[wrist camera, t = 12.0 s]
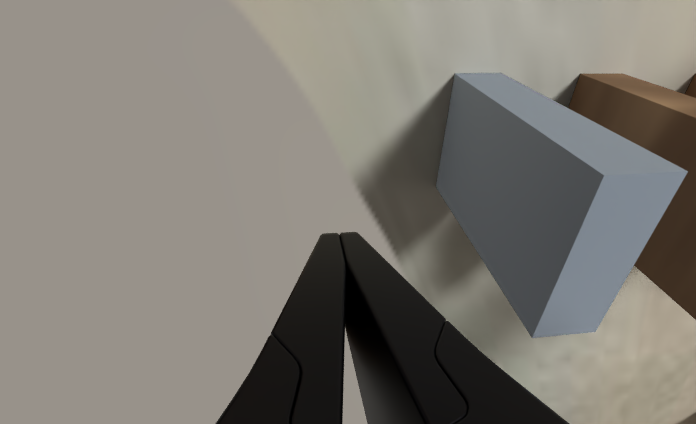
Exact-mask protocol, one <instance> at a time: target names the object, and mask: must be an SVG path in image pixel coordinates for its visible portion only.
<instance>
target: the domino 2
mask: <svg viewBox="0 0 696 424" xmlns="http://www.w3.org/2000/svg"><path fill="white" fill-rule="evenodd" d="M568 108H569V109H571V110H572V111H574V112H576V113H578V114H580V115H582V116H584V117H586V118H588V119H590V120H591V121H593V122H595V123H597V124H599V125H601V126H603V127H605V128H607V129H608V130H610V131H612V132H614V133H616V134H618V135H620V136H622V137H624V138H626V139H627V140H629V141H631V142H633V143H635V144H637V145H639V146H641V147H643V148H645V149H646V150H648V151H650V152H652V153H654V154H656V155H658V156H660V157H662V158H664V159H665V160H667V161H669V162H671V163H673V164H675V165H677V166H679V167H681V168H683V169H684V170H686V171H688V173H687V174H686V176H685V178H684V179H683V181H682V183H681V185H680V186H679V188H678V190H677V192H676V193H675V195H674V197H673V198H672V200H671V202H670V204H669V205H668V207H667V209H666V211H665V212H664V214H663V216H662V217H661V219H660V221H659V223H658V224H657V226H656V228H655V230H654V231H653V233H652V235H651V236H650V238H649V240H648V242H647V243H646V245H645V247H644V249H643V250H642V252H641V254H640V255H639V257H638V259H637V261H636V262H635V264H634V266H636V267H637V268H638V269H639V270H640V271H641V272H642V273H643V274H645V275H646V276H647V277H648V278H649V279H650V280H651V281H653V282H654V283H655V284H656V285H657V286H658V287H659V288H660V289H662V290H663V291H664V292H665V293H666V294H667V295H668V296H670V297H671V298H672V299H673V300H674V301H675V302H676V303H677V304H679V305H680V306H681V307H682V308H683V309H684V310H685V311H687V312H688V313H689V314H690V315H691V316H692V317H693V318H694V319H696V98H694V97H691V96H688V95H685V94H682V93H679V92H676V91H673V90H670V89H667V88H664V87H661V86H658V85H655V84H652V83H649V82H646V81H643V80H640V79H637V78H634V77H631V76H628V75H625V74H580V76H579V79H578V82H577V85H576V87H575V90H574V93H573V96H572V99H571V102H570V104H569V107H568Z"/></svg>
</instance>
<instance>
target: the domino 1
mask: <svg viewBox="0 0 696 424" xmlns="http://www.w3.org/2000/svg"><path fill="white" fill-rule="evenodd" d="M687 173H688V171H686V170H684V169H683V168H681V167H679V166H677V165H675V164H673V163H671V162H669V161H667V160H665V159H664V158H662V157H660V156H658V155H656V154H654V153H652V152H650V151H648V150H646V149H645V148H643V147H641V146H639V145H637V144H635V143H633V142H631V141H629V140H627V139H626V138H624V137H622V136H620V135H618V134H616V133H614V132H612V131H610V130H608V129H607V128H605V127H603V126H601V125H599V124H597V123H595V122H593V121H591V120H590V119H588V118H586V117H584V116H582V115H580V114H578V113H576V112H574V111H572V110H571V109H569V108H567V107H565V106H563V105H561V104H559V103H557V102H555V101H553V100H552V99H550V98H548V97H546V96H544V95H542V94H540V93H538V92H536V91H534V90H533V89H531V88H529V87H527V86H525V85H523V84H521V83H519V82H517V81H515V80H514V79H512V78H510V77H508V76H506V75H504V74H502V73H462V74H455V75H454V81H453V87H452V93H451V99H450V105H449V111H448V117H447V123H446V129H445V135H444V141H443V147H442V153H441V159H440V165H439V171H438V177H437V183H436V188H437V190H438V191H439V193H440V194H441V196H442V197H443V199H444V201H445V202H446V204H447V205H448V207H449V208H450V210H451V212H452V213H453V215H454V216H455V218H456V219H457V221H458V223H459V224H460V226H461V227H462V229H463V230H464V232H465V234H466V235H467V237H468V238H469V240H470V241H471V243H472V244H473V246H474V248H475V249H476V251H477V252H478V254H479V255H480V257H481V259H482V260H483V262H484V263H485V265H486V266H487V268H488V270H489V271H490V273H491V274H492V276H493V277H494V279H495V281H496V282H497V284H498V285H499V287H500V288H501V290H502V291H503V293H504V295H505V296H506V298H507V299H508V301H509V302H510V304H511V306H512V307H513V309H514V310H515V312H516V313H517V315H518V317H519V318H520V320H521V321H522V323H523V324H524V326H525V328H526V329H527V331H528V332H529V334H530V335H531V337H532V338H537V337H547V336H557V335H568V334H578V333H588V332H596V330H597V328H598V326H599V325H600V323H601V321H602V319H603V318H604V316H605V314H606V313H607V311H608V309H609V307H610V306H611V304H612V302H613V300H614V299H615V297H616V295H617V294H618V292H619V290H620V288H621V287H622V285H623V283H624V281H625V280H626V278H627V276H628V274H629V273H630V271H631V269H632V268H633V266H634V264H635V262H636V261H637V259H638V257H639V255H640V254H641V252H642V250H643V249H644V247H645V245H646V243H647V242H648V240H649V238H650V236H651V235H652V233H653V231H654V230H655V228H656V226H657V224H658V223H659V221H660V219H661V217H662V216H663V214H664V212H665V211H666V209H667V207H668V205H669V204H670V202H671V200H672V198H673V197H674V195H675V193H676V192H677V190H678V188H679V186H680V185H681V183H682V181H683V179H684V178H685V176H686V174H687Z"/></svg>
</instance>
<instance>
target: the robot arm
mask: <svg viewBox="0 0 696 424" xmlns="http://www.w3.org/2000/svg"><path fill="white" fill-rule="evenodd" d="M445 321H446V319H445V318H444V317H443V316H442V315H441V314H440V313H439V312H438V311H437V310H436V309H435V308H434V307H433V306H432V305H431V304H430V303H429V302H428V301H427V300H426V299H425V298H424V297H423V296H422V295H421V294H420V293H419V292H418V291H417V290H416V289H415V288H414V287H413V286H412V285H411V284H409V283H408V282H407V281H406V280H405V279H404V278H403V277H402V276H401V275H400V274H399V273H398V272H397V271H396V270H395V269H394V268H393V267H392V266H391V265H390V264H389V263H388V262H387V261H386V260H385V259H384V258H383V257H382V256H381V255H380V254H379V253H378V252H377V251H376V250H375V249H374V248H373V247H371V245H369V244H368V243H367V241H365V240H364V239H363V238H362V237H361V236H360V235H359V234H358V233H356V232H346V233H341V234H340V235H339V234H337V233H326V234H322V235H321V236H320V238H319V240H318V242H317V244H316V246H315V248H314V250H313V252H312V253H311V255H310V257H309V259H308V261H307V263H306V265H305V267H304V269H303V271H302V273H301V275H300V277H299V279H298V281H297V283H296V285H295V287H294V289H293V291H292V293H291V295H290V297H289V299H288V300H287V303H286V305H285V306H284V308H283V310H282V312H281V314H280V316H279V318H278V320H277V322H276V324H275V326H274V328H273V330H272V332H271V335H270V336H269V337H268V339H267V341H266V343H265V345H264V347H263V349H262V351H261V353H260V355H259V356H258V358H257V360H256V362H255V364H254V365H253V367H252V369H251V371H250V373H249V374H248V376H247V377H246V379H245V380H244V382H243V384H242V385H241V387H240V388H239V390H238V391H237V393H236V394H235V396H234V397H233V399H232V401H231V402H230V403H229V405H228V406H227V408H226V409H225V411H224V412H223V414H222V415H221V417H220V418H219V419H218V421H217V423H216V424H342V413H343V410H342V409H343V374H344V337H345V328H346V332H347V337H348V341H349V345H350V350H351V354H352V358H353V363H354V367H355V371H356V376H357V380H358V384H359V389H360V393H361V397H362V401H363V406H364V409H365V414H366V419H367V422H368V424H569V423H568V422H567V421H565V420H564V419H563V418H561V417H560V416H559V415H558V414H557V413H555V412H554V411H553V410H552V409H550V408H549V407H548V406H547V405H545V404H544V403H543V402H542V401H540V400H539V399H538V398H537V397H535V396H534V395H533V394H532V393H530V392H529V391H528V390H527V389H525V388H524V387H523V386H522V385H520V384H519V383H518V382H517V381H515V380H514V379H513V378H512V377H510V376H509V375H508V374H507V373H505V372H504V371H503V370H502V369H501V368H499V367H498V366H497V365H496V364H495V363H493V362H492V361H491V360H490V359H489V358H488V357H486V356H485V355H484V354H483V353H482V352H480V351H479V350H478V349H477V348H476V347H475V346H474V345H473V344H472V343H471V342H470V341H468V340H467V339H466V338H465V337H464V336H463V335H462V334H461V333H460V332H459V331H458V330H457V329H456V328H455V327H454V326H453V325H452V324H451V323H450V322H449V321H446V322H445Z"/></svg>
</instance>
